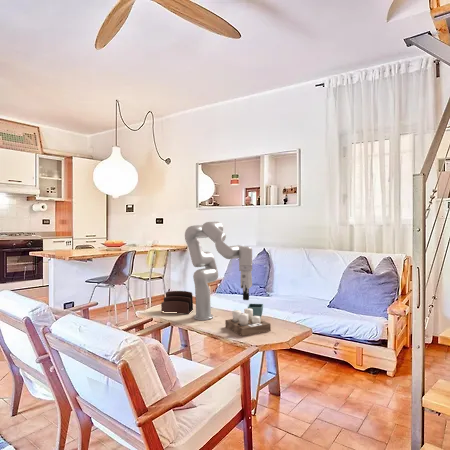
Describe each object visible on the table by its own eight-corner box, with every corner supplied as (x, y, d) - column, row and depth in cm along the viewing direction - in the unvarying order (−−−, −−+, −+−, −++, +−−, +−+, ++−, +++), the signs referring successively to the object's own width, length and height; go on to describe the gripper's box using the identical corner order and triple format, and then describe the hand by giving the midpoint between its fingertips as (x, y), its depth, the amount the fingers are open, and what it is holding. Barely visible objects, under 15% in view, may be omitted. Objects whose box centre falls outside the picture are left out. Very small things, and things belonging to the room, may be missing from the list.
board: (225, 326, 204) (225, 320, 204) (251, 322, 212) (251, 315, 212) (242, 336, 186) (242, 329, 186) (270, 330, 194) (270, 323, 194)
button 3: (243, 319, 206) (242, 309, 206) (250, 317, 209) (249, 308, 209) (247, 321, 202) (247, 311, 202) (254, 319, 204) (254, 309, 204)
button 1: (231, 321, 203) (230, 311, 203) (238, 320, 205) (238, 309, 205) (235, 323, 198) (235, 313, 198) (242, 322, 201) (242, 311, 201)
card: (247, 325, 192) (247, 324, 192) (258, 323, 195) (258, 322, 195) (251, 327, 189) (251, 326, 189) (262, 325, 192) (262, 324, 192)
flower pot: (262, 321, 212) (261, 307, 212) (247, 321, 214) (247, 306, 214) (263, 317, 221) (263, 303, 220) (249, 317, 222) (249, 303, 222)
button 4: (250, 327, 199) (249, 316, 199) (257, 325, 202) (257, 315, 202) (254, 329, 195) (254, 318, 195) (262, 327, 197) (262, 317, 197)
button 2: (237, 324, 196) (237, 314, 196) (245, 323, 198) (245, 312, 198) (242, 327, 191) (242, 316, 191) (250, 325, 193) (249, 314, 193)
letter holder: (166, 310, 248) (166, 290, 248) (193, 310, 244) (192, 290, 244) (161, 313, 238) (160, 293, 238) (188, 314, 234) (188, 293, 234)
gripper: (249, 270, 191) (249, 303, 192) (254, 266, 206) (255, 297, 206) (236, 269, 193) (236, 302, 194) (242, 266, 208) (242, 296, 208)
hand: (246, 299), depth 200 cm, fingers closed
